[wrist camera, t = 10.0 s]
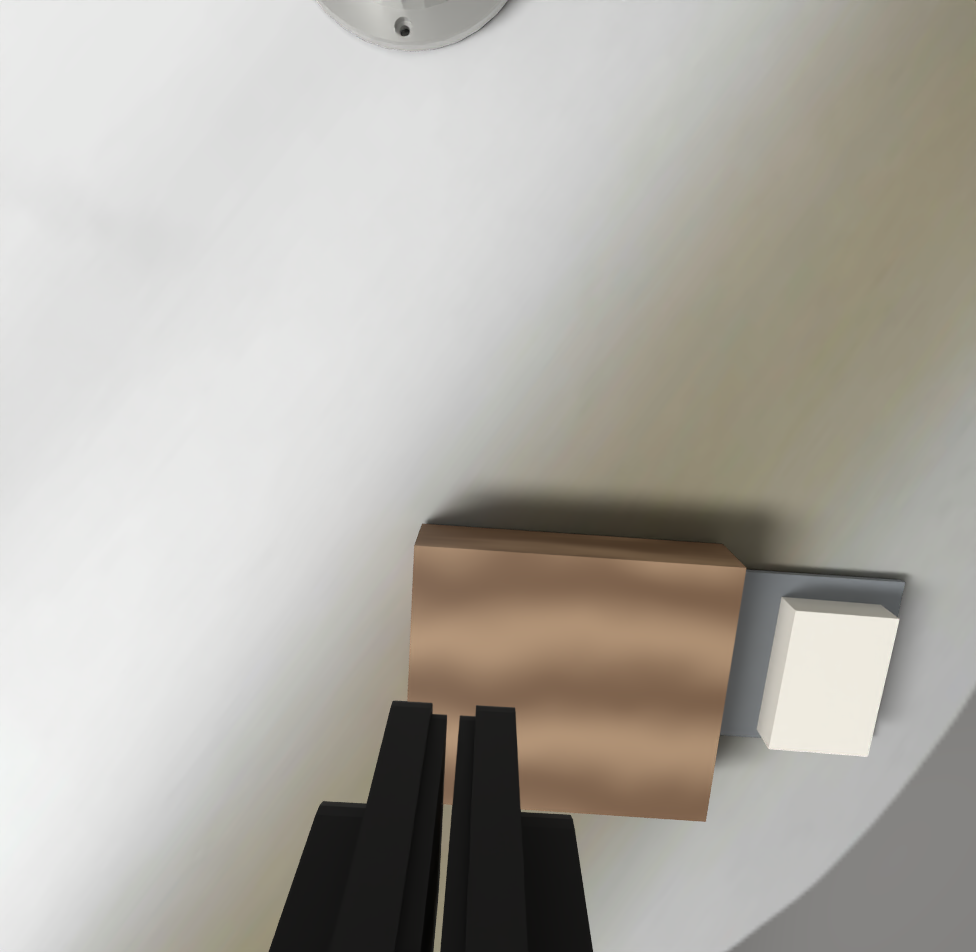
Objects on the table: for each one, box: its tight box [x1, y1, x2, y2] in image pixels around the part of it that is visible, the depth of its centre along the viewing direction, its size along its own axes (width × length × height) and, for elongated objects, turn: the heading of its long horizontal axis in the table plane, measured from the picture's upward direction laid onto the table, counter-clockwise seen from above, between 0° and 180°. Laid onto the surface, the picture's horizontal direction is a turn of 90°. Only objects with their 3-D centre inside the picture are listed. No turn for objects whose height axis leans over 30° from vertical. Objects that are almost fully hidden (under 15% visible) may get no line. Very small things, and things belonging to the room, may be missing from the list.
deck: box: [408, 524, 746, 822], centre depth 41 cm, size 16×18×4 cm
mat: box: [720, 569, 905, 738], centre depth 43 cm, size 11×11×1 cm
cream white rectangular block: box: [757, 597, 900, 757], centre depth 42 cm, size 9×6×2 cm, turn 175°
